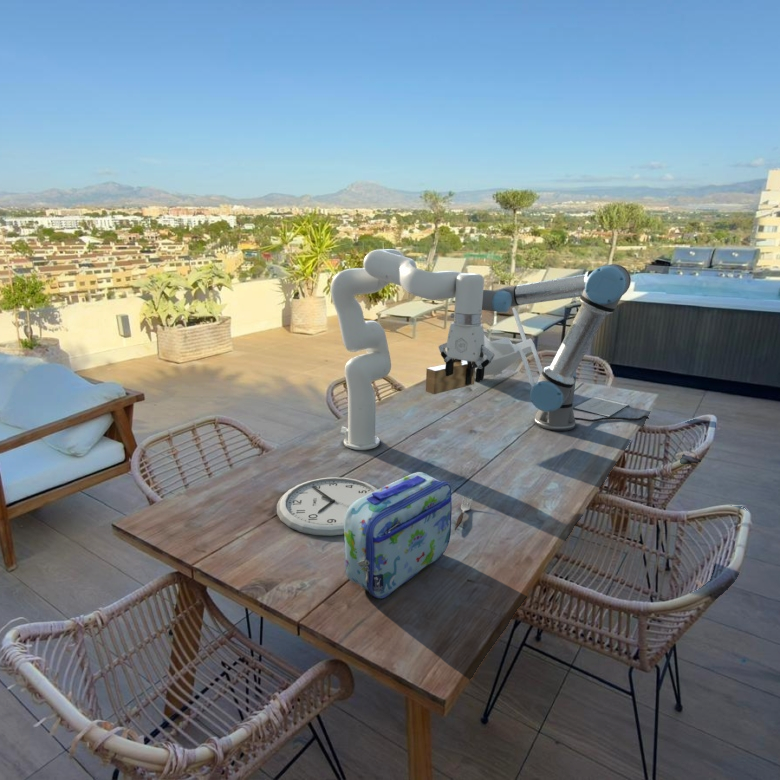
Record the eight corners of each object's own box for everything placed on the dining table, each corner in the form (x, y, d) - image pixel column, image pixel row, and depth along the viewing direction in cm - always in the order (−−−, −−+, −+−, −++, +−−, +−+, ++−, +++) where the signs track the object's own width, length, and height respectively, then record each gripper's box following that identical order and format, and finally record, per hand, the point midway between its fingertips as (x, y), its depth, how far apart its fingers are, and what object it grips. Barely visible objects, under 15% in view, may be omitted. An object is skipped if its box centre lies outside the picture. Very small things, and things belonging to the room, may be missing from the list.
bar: (465, 381, 211) (467, 359, 208) (474, 384, 207) (475, 362, 205) (425, 391, 197) (426, 368, 194) (434, 394, 194) (435, 370, 191)
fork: (449, 531, 131) (450, 524, 131) (463, 501, 146) (463, 495, 145) (459, 533, 130) (460, 526, 130) (472, 503, 145) (473, 496, 144)
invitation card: (608, 416, 214) (573, 407, 224) (608, 416, 214) (573, 408, 224) (628, 404, 229) (594, 396, 238) (628, 405, 229) (594, 397, 238)
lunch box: (372, 611, 103) (373, 518, 97) (338, 585, 111) (336, 497, 104) (455, 557, 121) (460, 475, 115) (420, 537, 128) (424, 459, 122)
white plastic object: (482, 419, 265) (461, 396, 241) (463, 346, 287) (443, 319, 263) (553, 395, 253) (539, 368, 228) (528, 321, 275) (513, 290, 250)
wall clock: (392, 527, 129) (268, 531, 127) (391, 533, 130) (269, 537, 127) (383, 473, 158) (282, 475, 155) (383, 478, 158) (282, 480, 156)
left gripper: (434, 317, 147) (431, 375, 153) (489, 324, 138) (485, 386, 143) (447, 314, 153) (444, 370, 158) (502, 321, 143) (497, 380, 148)
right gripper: (443, 321, 204) (440, 379, 211) (477, 328, 191) (473, 389, 198) (456, 319, 208) (453, 376, 215) (491, 326, 195) (486, 386, 202)
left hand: (463, 378), depth 151 cm, fingers open, 9 cm apart
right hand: (463, 382), depth 206 cm, fingers closed on bar, 5 cm apart
